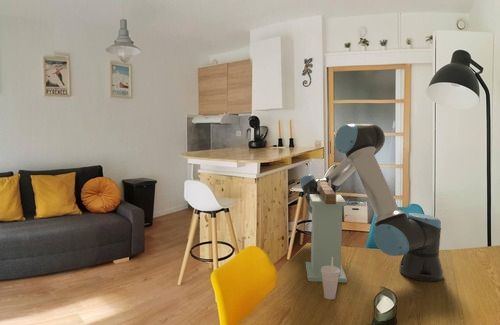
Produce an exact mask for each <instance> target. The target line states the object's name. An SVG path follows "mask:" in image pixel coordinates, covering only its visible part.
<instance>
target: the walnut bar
mask: <svg viewBox="0 0 500 325" xmlns="http://www.w3.org/2000/svg"><path fill="white" fill-rule="evenodd" d="M319 193H320V194H321V196H322V198H323V200H324V202H325V204H336V195H337V194H335V192H334V191H333V190H332V188H331V187H330V186H329V184H328V183H327V182H326V181H320V189H319Z"/></svg>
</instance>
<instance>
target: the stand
mask: <svg viewBox="0 0 500 325" xmlns="http://www.w3.org/2000/svg"><path fill="white" fill-rule="evenodd" d="M309 198H310V201H311V203H312V214H311V234H310V235H311V239H310V240H311V244H310V245H311V247H310V248H311V249H310V261H305V270H306V277H307V280H308V282H322V283H323V281H322V273H321V267H323V266H331V261H332V257H333V266H335V267H337V268H339V269H340V274H339V278H338V283H346V284H347V282H348V279H347V276H346V273H345V271H344V269H343V266H342V238H343V236H342V235H343V234H342V233H343V207H345V206H347V201H346V200H345V199H344V198H343V196H342V195H341V194H336V204H325V202H324V200H323V198H322V196H321V194H310V196H309Z"/></svg>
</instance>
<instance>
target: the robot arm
mask: <svg viewBox="0 0 500 325" xmlns="http://www.w3.org/2000/svg"><path fill="white" fill-rule="evenodd" d="M385 140H386V135H385V133H384V130H383V129H382V128H381V127H380V126H379V125H377V124H373V123H347V124H343V125H342V126H341V125H340V127H339V128H338V129H337V132H336V134H335V137H334V144H335V148H336V150H337V151H338V152H339V153H342V154H345V158H343V159H342V160H341V162H340V163H339V164H338V165H337V166H336V167H335V168H334V169H333V170H332V171H331V172H330V173H329V174H328V175H327V176H326V177H324V178H315V176H314V174H305V175H304V176H302V177H301V178H300V179H299V185H300V186H301V189H302V192H303V194H304V197H305V200H306V203H307V210H308V212H309V214H311V215H312V203H311V201H310V198H309V196H310V194H320V193H319V189H320V181H326V182H327V183H328V184H329V186H330V187H331V188H332V190H333V191H334V192H335V194H336V193H337V192H339V191H340V190H342V186H343V183H344V182H345V181H346V180H347V179H348V178H349V177H350V176H351V175H352V174H353V173H355V171H356V173H357V175H358V177H359V180H360V182H361V184H362V187H363V188H364V191H365V194H366V196H367V198H368V201H369V203H370V205H371V207H372V211H373V213H374V215H375V217H376V219H375V221H374V225H375V229H374V231H373V233H374V234H373V240H374V243H375V244H376V246H377V248H378V249H379V250H380V252H382V253H384V254H386V255H387V256H391V257H398V256H400V257H401V256H402V258H401V260H400V262H399V272H400V273H401V274H402V275H404V276H405V277H408V278H410V279H412V280H416V281H421V282H425V283H426V282H429V283H431V282H432V283H433V282H439V281H441V280H443V278H444V270H443V267H442V264H441V261H440V260H441V259H440V246H441V244H440V243H441V230H442V227H441V226H442V225H441V223H442V222H441V220H440V219H439V218H438V217H436V216H433V215H429V214H424V213H419V212H417V213H416V212H409V213H407V214H406V212H404V211H402V210H400V209H399V205H397V202H396V200H395V198H394V195H393V193H392V191H391V188H390V187H389V185H388V182H387V180H386V178H385V176H384V173H383V171H382V169H381V167H380V165H379V162H378V161H377V157H376V155H378V153H379V152H380V151H381V150H382V148H383V147H384V145H385ZM336 195H337V194H336Z"/></svg>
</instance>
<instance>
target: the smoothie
mask: <svg viewBox="0 0 500 325" xmlns="http://www.w3.org/2000/svg"><path fill="white" fill-rule="evenodd" d="M321 273H322V281H323V282H322V288H323V296H324V299H327V300H335V299H336V296H337V295H336V294H337V290H338V284H339V282H338V278H339V274H340V269H339V268H337V267H335V266H333V257H332V261H331V266H323V267H321Z"/></svg>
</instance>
